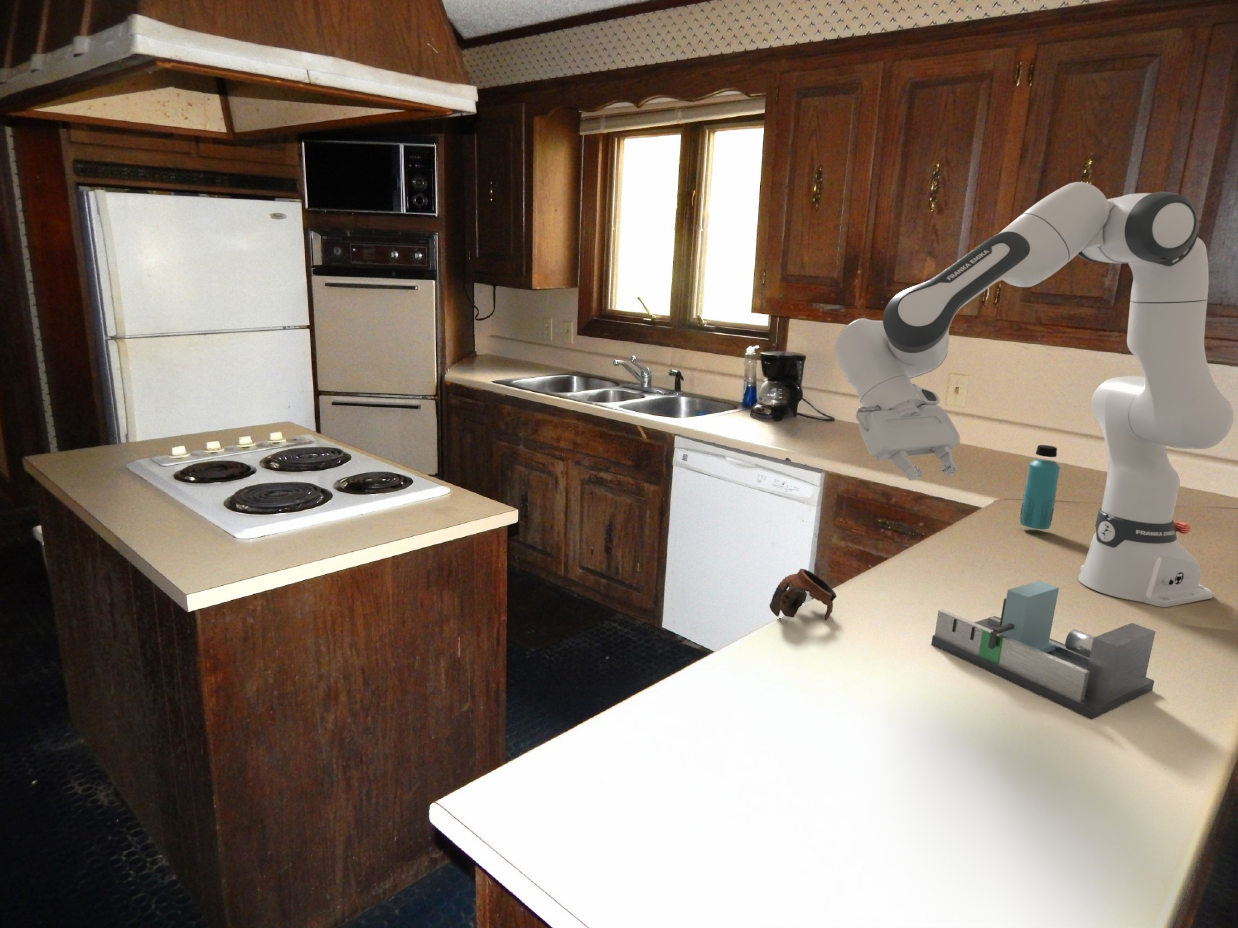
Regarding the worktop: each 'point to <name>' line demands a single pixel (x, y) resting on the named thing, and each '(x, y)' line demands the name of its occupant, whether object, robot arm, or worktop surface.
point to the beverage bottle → (1040, 490)
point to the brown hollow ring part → (801, 593)
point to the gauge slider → (1028, 615)
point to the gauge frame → (1058, 662)
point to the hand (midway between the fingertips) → (934, 475)
